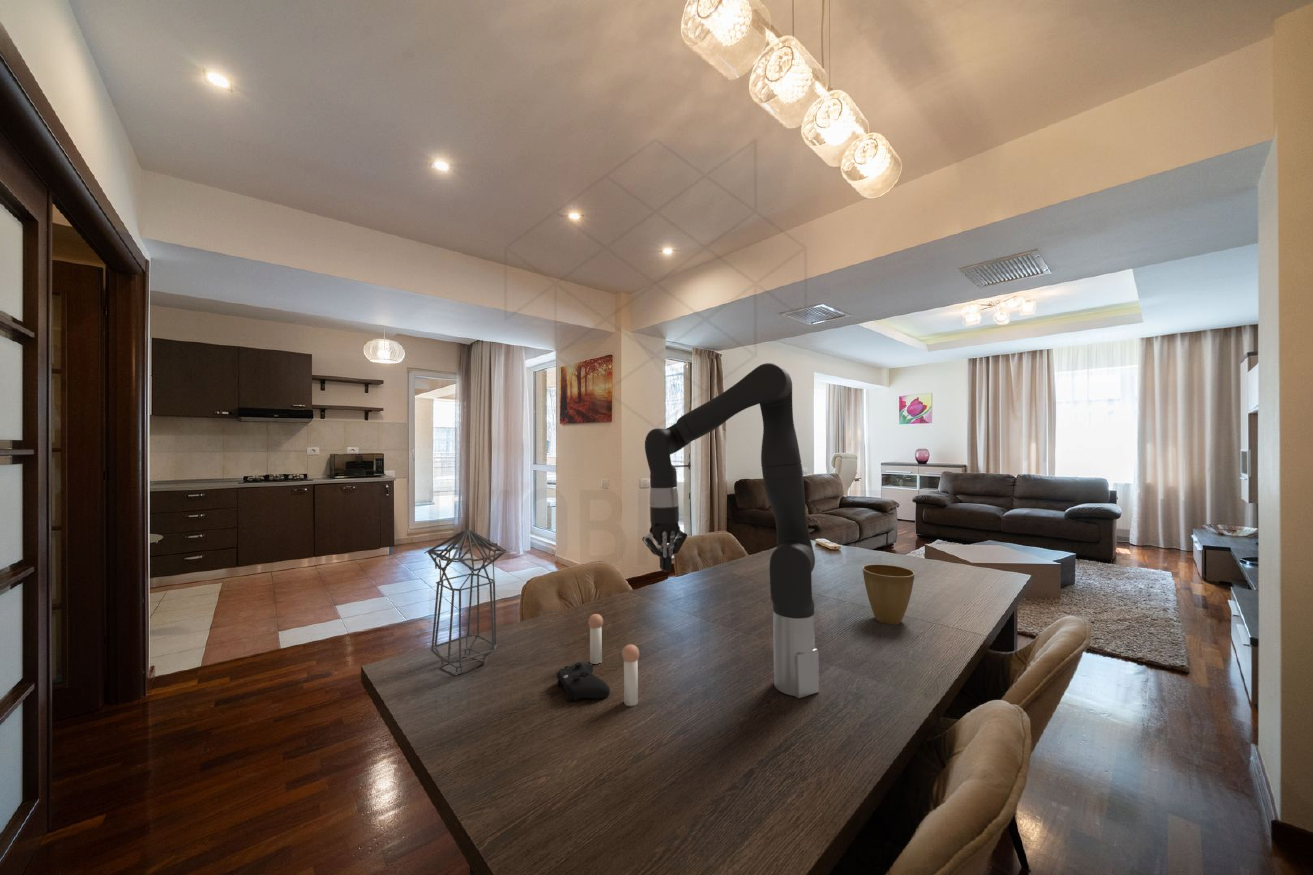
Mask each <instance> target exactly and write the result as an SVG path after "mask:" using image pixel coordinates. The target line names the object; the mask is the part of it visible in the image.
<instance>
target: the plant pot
mask: <svg viewBox="0 0 1313 875" xmlns="http://www.w3.org/2000/svg"><path fill="white" fill-rule="evenodd" d="M862 573H863V574H862V575H863V580H864V585H865V591H866V594H867V598H868V601H869V604H870V608H871V610H872V612H873V613H872V614H873V615H874V616H873V617H874V618H875V620H876V621H878V622H880V623H883V624H886V625H900V624H901V623H902V621H903V619H904V617H905V614H906V612H907V609H908V606H909V602H910V598H911V596H912V591H913V585H914V580H915V575H916V574H915V572H914V571H913V569H911V568H910V569H909V568H906V567H903V566H899V565H898V566H897V565H892V564H891V565H890V564H880V563H879V564H878V563H876V564H875V563H874V564H872V563H871V564H866V565H863V567H862Z"/></svg>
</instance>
